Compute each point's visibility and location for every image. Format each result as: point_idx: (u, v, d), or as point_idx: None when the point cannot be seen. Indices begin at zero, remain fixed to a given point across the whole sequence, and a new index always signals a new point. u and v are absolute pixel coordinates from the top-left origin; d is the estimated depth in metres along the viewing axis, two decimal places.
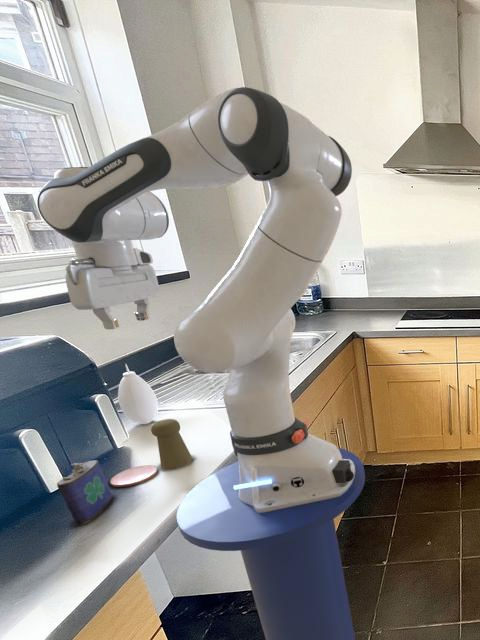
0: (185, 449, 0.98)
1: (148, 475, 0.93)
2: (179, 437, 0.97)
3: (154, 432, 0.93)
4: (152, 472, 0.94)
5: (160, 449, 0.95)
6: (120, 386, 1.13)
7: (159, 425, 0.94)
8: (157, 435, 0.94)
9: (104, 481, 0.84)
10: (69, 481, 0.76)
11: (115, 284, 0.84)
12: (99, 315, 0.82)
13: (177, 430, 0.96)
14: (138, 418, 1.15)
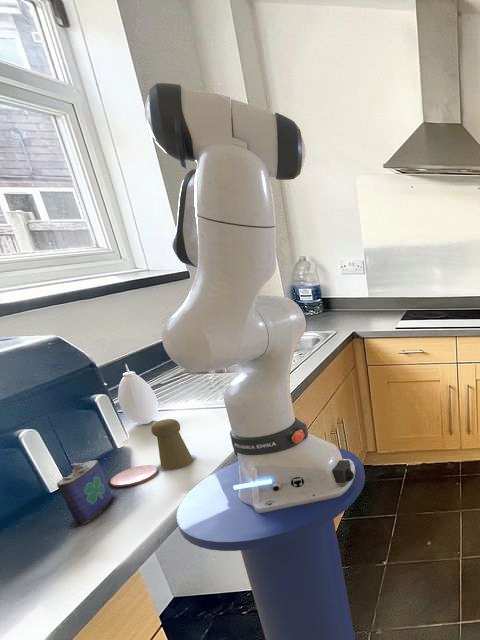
0: (185, 449, 0.98)
1: (148, 475, 0.93)
2: (179, 437, 0.97)
3: (154, 432, 0.93)
4: (152, 472, 0.94)
5: (160, 449, 0.95)
6: (120, 386, 1.13)
7: (159, 425, 0.94)
8: (157, 435, 0.94)
9: (104, 481, 0.84)
10: (69, 481, 0.76)
11: None
12: None
13: (177, 430, 0.96)
14: (138, 418, 1.15)
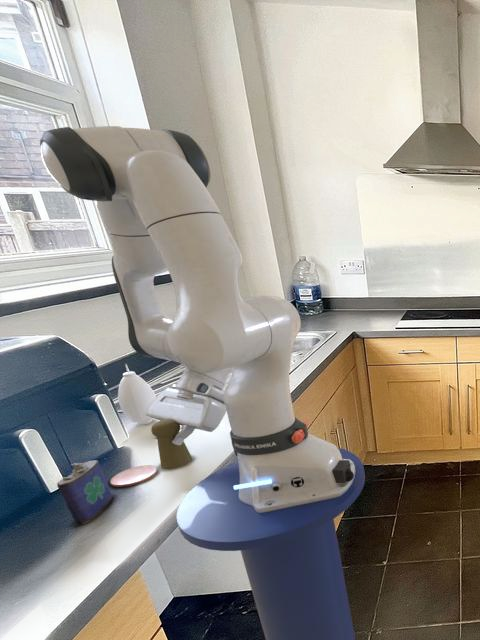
0: (185, 449, 0.98)
1: (148, 475, 0.93)
2: None
3: (154, 432, 0.93)
4: (152, 472, 0.94)
5: (160, 449, 0.95)
6: (120, 386, 1.13)
7: (159, 425, 0.94)
8: (157, 435, 0.94)
9: (104, 481, 0.84)
10: (69, 481, 0.76)
11: (173, 404, 0.99)
12: None
13: (177, 430, 0.96)
14: (138, 418, 1.15)
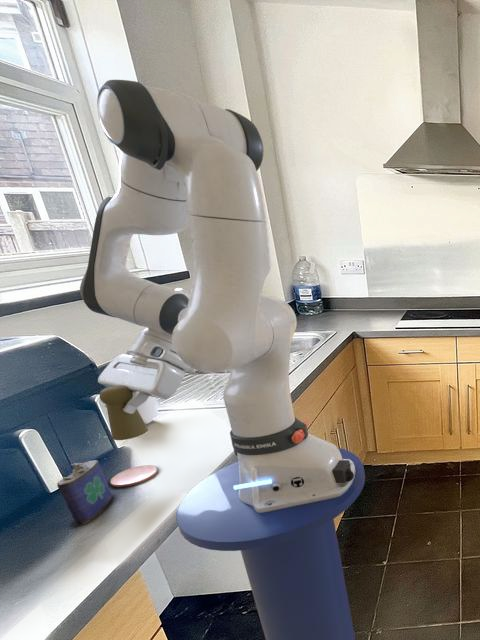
0: (139, 419, 0.91)
1: (148, 475, 0.93)
2: None
3: (102, 398, 0.86)
4: (152, 472, 0.94)
5: (110, 417, 0.87)
6: None
7: (108, 391, 0.86)
8: (106, 402, 0.86)
9: (104, 481, 0.84)
10: (69, 481, 0.76)
11: (126, 370, 0.91)
12: None
13: (129, 397, 0.88)
14: None
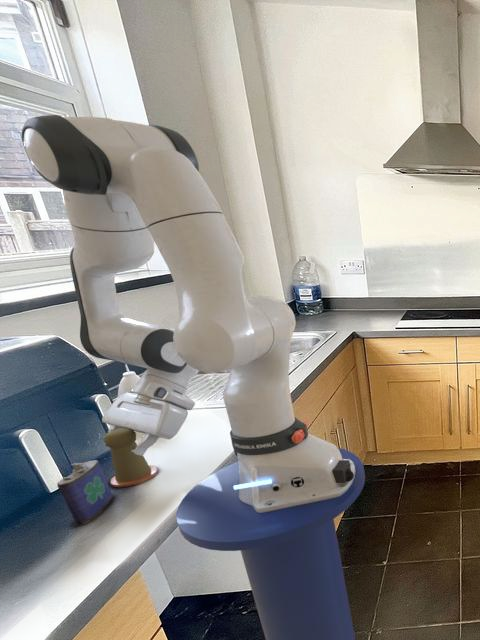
0: (142, 460, 0.93)
1: (148, 475, 0.93)
2: None
3: (106, 442, 0.88)
4: (152, 472, 0.94)
5: (114, 460, 0.90)
6: (120, 386, 1.13)
7: (111, 435, 0.88)
8: (110, 445, 0.88)
9: (104, 481, 0.84)
10: (69, 481, 0.76)
11: (130, 410, 0.93)
12: None
13: (132, 440, 0.90)
14: None
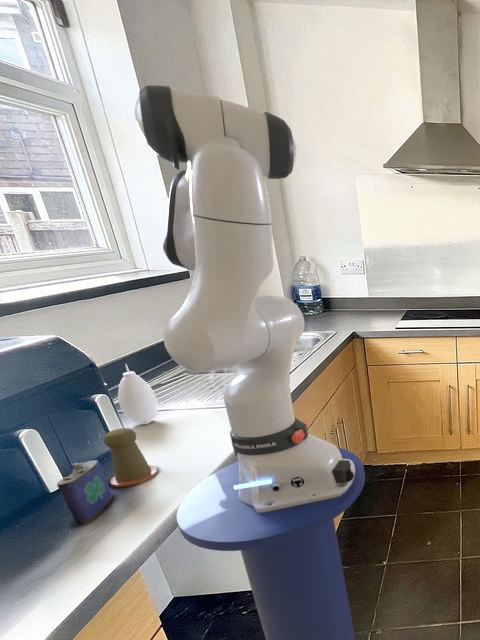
0: (142, 460, 0.93)
1: (148, 475, 0.93)
2: (135, 447, 0.91)
3: (106, 442, 0.88)
4: (152, 472, 0.94)
5: (114, 460, 0.90)
6: (120, 386, 1.13)
7: (111, 435, 0.88)
8: (110, 445, 0.88)
9: (104, 481, 0.84)
10: (69, 481, 0.76)
11: None
12: None
13: (132, 440, 0.90)
14: (138, 418, 1.15)
